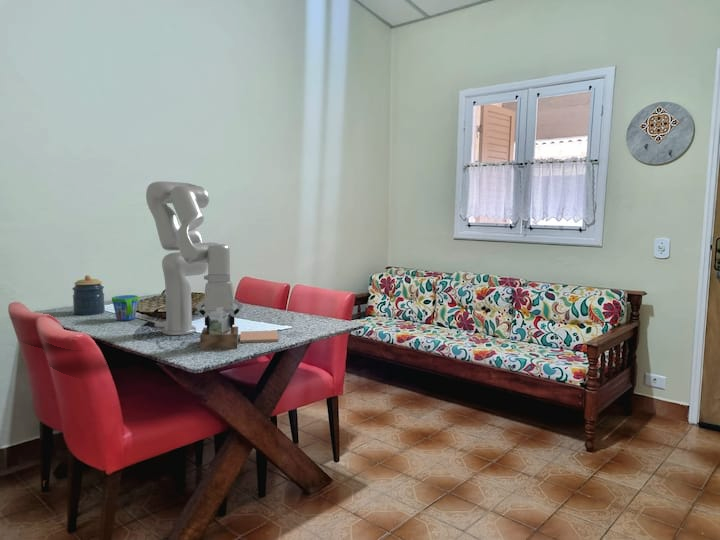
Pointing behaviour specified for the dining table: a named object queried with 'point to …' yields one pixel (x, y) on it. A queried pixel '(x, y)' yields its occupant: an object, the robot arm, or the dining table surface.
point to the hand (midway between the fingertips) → (219, 326)
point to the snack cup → (125, 307)
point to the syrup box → (219, 321)
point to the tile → (259, 336)
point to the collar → (219, 339)
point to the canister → (88, 297)
